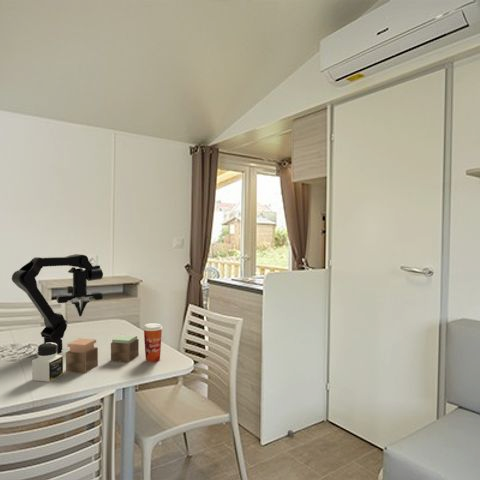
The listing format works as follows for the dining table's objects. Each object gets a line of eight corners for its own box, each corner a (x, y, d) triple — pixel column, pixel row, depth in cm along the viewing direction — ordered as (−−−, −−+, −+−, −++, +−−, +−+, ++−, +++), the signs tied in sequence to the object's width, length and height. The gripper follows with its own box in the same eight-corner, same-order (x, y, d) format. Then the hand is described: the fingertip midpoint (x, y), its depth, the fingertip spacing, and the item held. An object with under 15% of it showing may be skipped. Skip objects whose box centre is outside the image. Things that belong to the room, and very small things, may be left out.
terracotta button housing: (65, 371, 141) (65, 352, 141) (79, 363, 149) (79, 346, 148) (85, 373, 139) (85, 354, 139) (97, 365, 147) (97, 347, 147)
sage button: (112, 357, 153) (112, 339, 153) (121, 351, 160) (121, 334, 160) (128, 358, 151) (128, 340, 151) (137, 352, 158) (137, 335, 158)
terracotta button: (67, 362, 141) (67, 343, 141) (79, 356, 148) (79, 338, 148) (84, 364, 140) (84, 344, 139) (96, 357, 147) (96, 339, 146)
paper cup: (145, 364, 149) (145, 328, 148) (141, 358, 155) (141, 324, 155) (165, 361, 152) (165, 326, 152) (160, 355, 159) (159, 322, 159)
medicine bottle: (49, 382, 131) (49, 347, 130) (31, 380, 132) (31, 346, 132) (63, 374, 138) (63, 341, 137) (46, 373, 139) (45, 340, 139)
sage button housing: (110, 360, 153) (110, 343, 152) (121, 354, 160) (121, 337, 160) (129, 361, 151) (129, 344, 151) (138, 355, 159) (138, 338, 158)
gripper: (97, 278, 184) (97, 310, 185) (54, 281, 174) (55, 315, 175) (102, 281, 175) (103, 315, 175) (58, 284, 165) (58, 320, 165)
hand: (80, 316), depth 173 cm, fingers closed
